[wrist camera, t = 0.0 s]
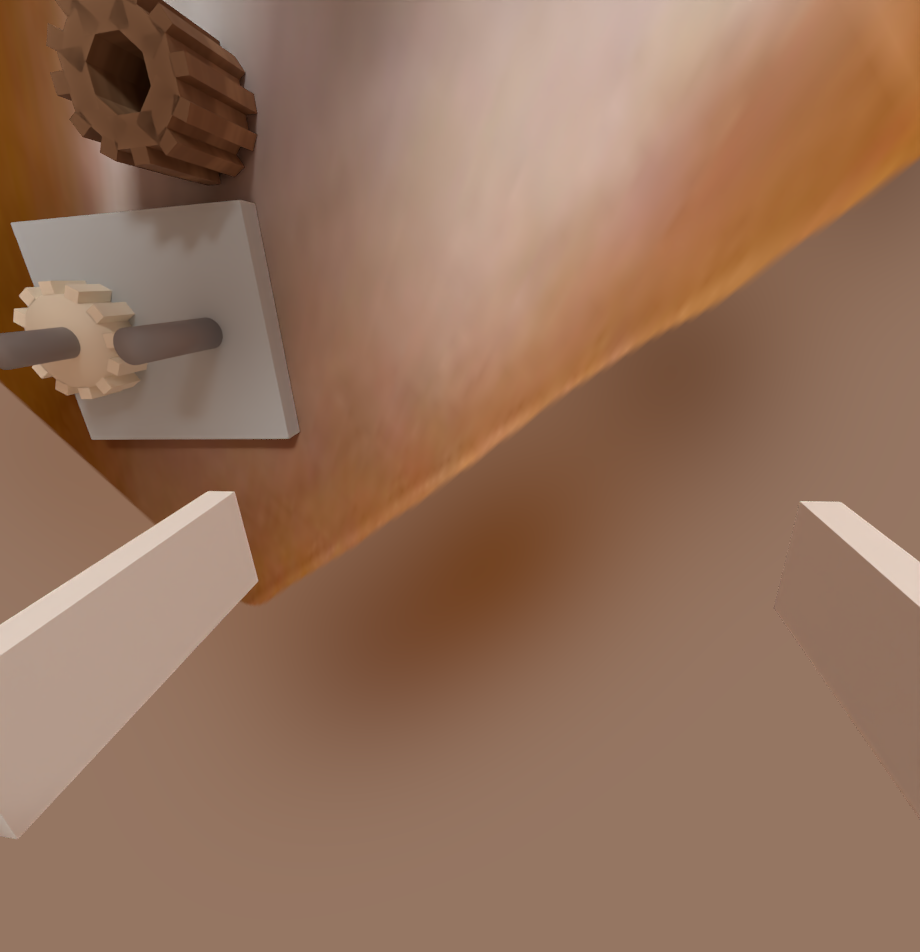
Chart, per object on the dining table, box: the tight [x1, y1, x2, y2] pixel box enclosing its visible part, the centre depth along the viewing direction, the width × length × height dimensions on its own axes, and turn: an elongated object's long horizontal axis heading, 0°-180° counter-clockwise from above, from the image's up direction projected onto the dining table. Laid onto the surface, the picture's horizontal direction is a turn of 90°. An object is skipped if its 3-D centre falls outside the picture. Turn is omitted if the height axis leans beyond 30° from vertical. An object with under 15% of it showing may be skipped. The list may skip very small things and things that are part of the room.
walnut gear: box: [46, 0, 257, 185], centre depth 31 cm, size 9×9×7 cm
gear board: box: [0, 200, 300, 440], centre depth 36 cm, size 18×20×10 cm
